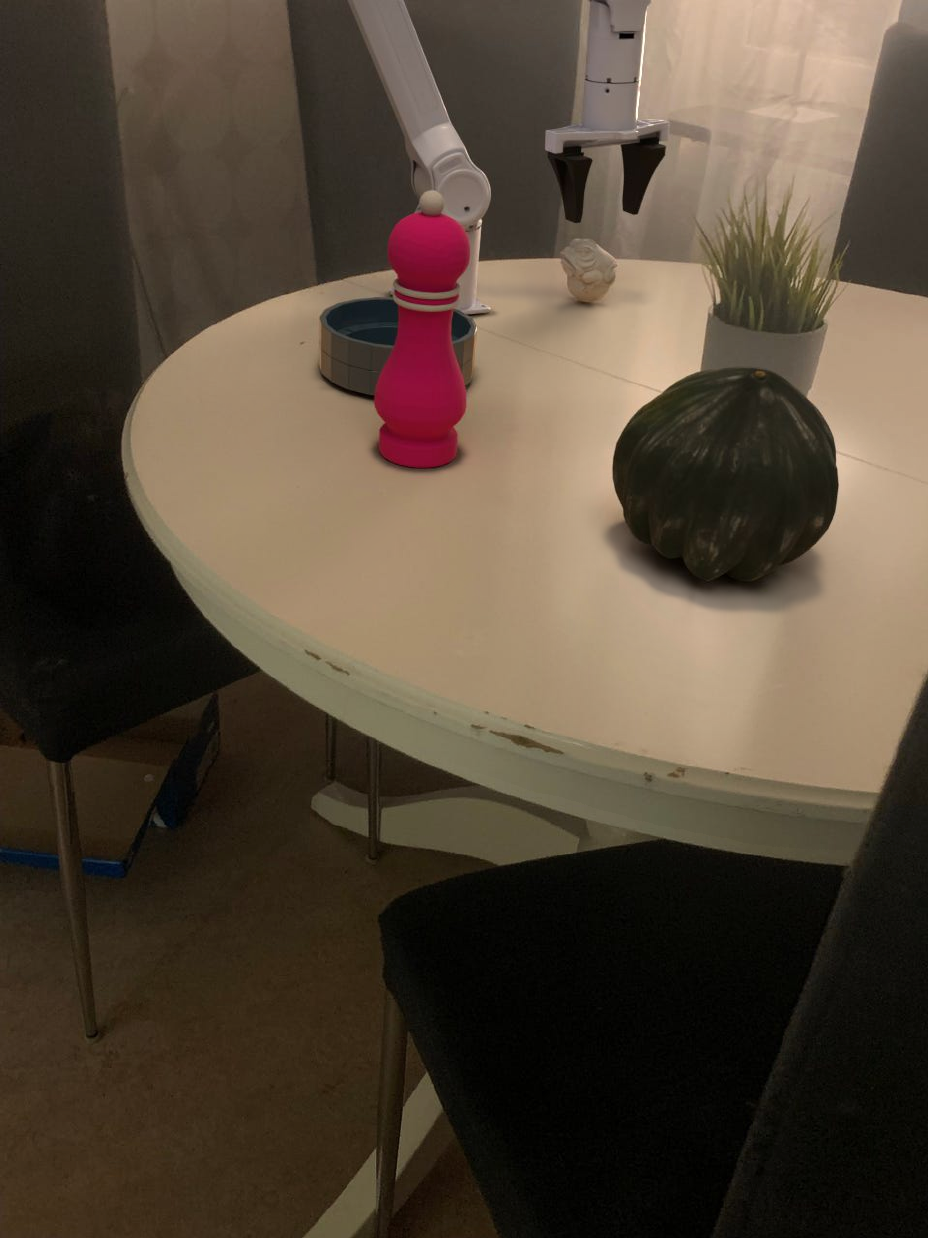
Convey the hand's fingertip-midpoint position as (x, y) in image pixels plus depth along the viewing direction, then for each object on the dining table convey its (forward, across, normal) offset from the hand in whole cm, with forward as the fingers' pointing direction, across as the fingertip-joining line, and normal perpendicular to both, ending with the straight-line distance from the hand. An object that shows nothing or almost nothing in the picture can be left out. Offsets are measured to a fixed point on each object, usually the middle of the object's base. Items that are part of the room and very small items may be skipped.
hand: (602, 216), depth 118 cm
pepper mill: (+8, -37, -29) cm, 48 cm away
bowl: (+8, -32, -13) cm, 35 cm away
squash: (+9, -25, -51) cm, 58 cm away
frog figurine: (+10, -1, +1) cm, 10 cm away
